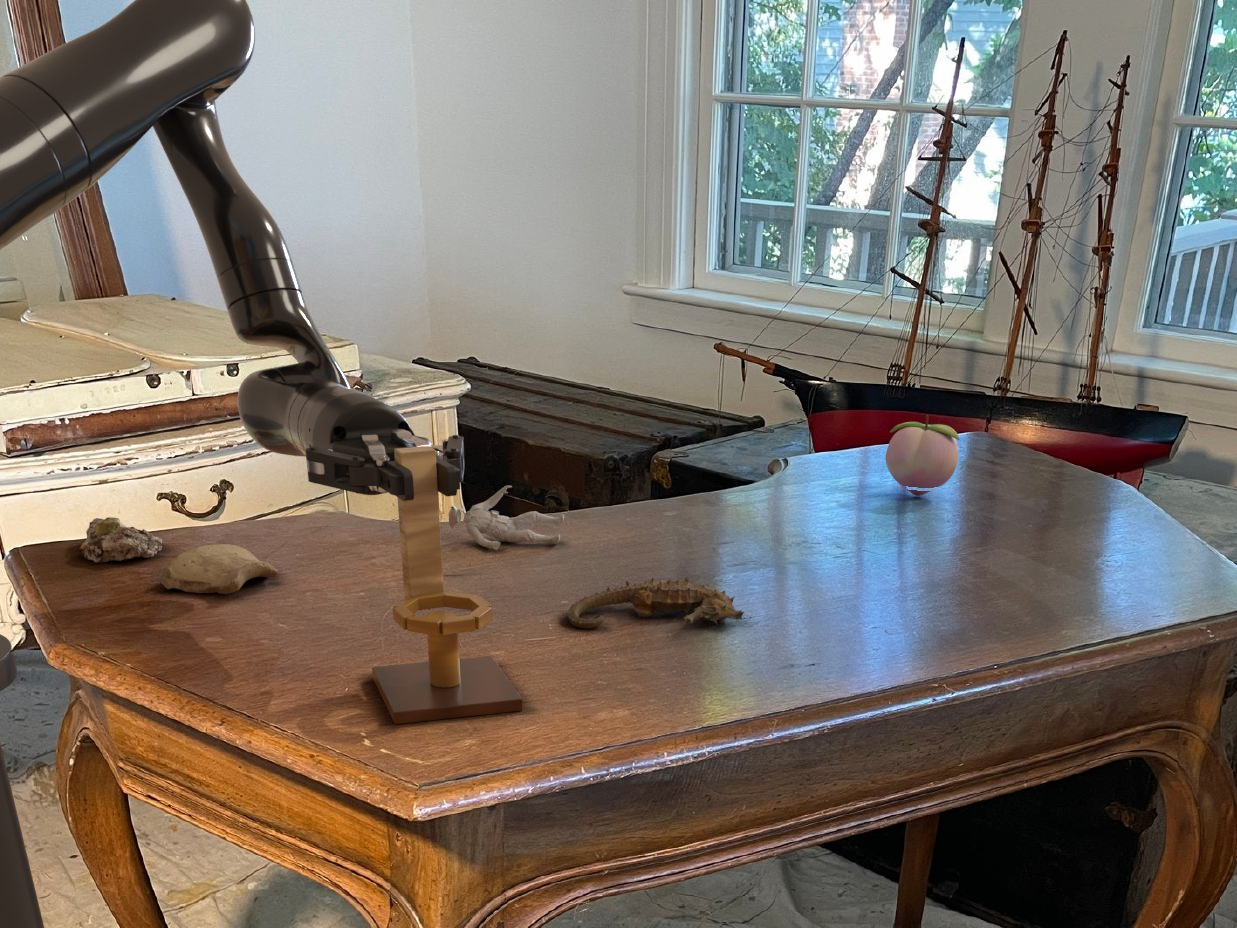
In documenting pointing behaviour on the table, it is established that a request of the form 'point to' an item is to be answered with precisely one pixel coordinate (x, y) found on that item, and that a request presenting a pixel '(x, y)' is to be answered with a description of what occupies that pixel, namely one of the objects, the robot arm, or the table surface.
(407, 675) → the peg stand
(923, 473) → the decorative fruit
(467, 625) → the wooden ring with handle
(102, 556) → the mineral rock
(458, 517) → the soldier figure
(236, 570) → the pottery shard
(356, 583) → the table surface
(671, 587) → the seahorse
